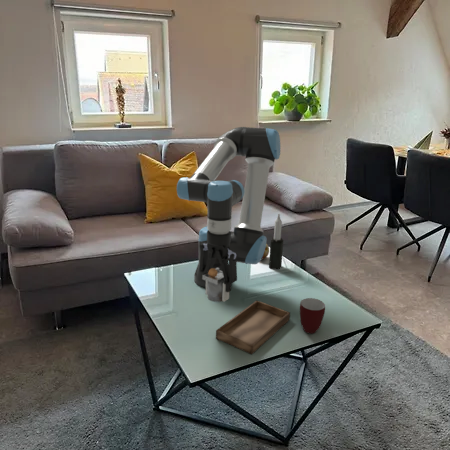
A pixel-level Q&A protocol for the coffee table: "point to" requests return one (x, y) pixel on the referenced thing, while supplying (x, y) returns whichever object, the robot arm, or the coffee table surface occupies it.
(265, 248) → the fruit
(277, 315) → the tray
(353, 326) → the coffee table surface
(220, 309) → the coffee table surface
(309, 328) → the mug
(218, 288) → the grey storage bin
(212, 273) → the ball
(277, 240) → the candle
